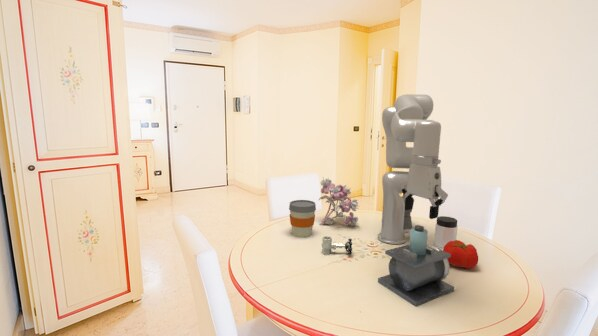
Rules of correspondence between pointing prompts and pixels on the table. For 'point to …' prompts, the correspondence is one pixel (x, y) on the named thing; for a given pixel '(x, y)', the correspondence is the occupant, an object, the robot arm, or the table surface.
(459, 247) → the tomato
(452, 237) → the jar
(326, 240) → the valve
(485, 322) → the table surface
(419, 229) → the teal cylinder with cap
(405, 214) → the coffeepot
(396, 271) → the motor
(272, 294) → the table surface
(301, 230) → the reusable coffee cup
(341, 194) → the flower
